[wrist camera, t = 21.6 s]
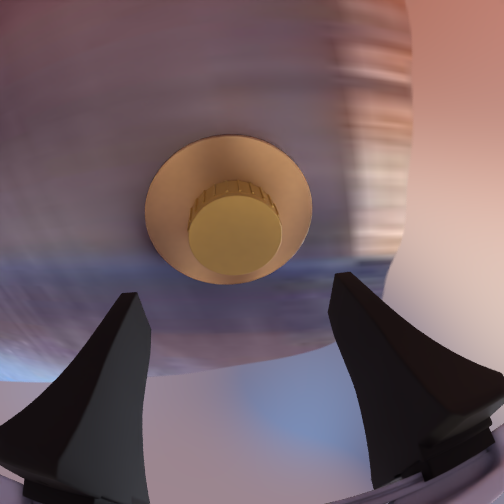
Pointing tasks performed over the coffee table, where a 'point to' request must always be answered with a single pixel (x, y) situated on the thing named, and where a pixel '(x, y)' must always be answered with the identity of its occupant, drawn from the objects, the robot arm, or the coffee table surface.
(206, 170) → the coaster
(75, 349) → the coffee table surface
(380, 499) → the robot arm
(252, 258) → the lid
